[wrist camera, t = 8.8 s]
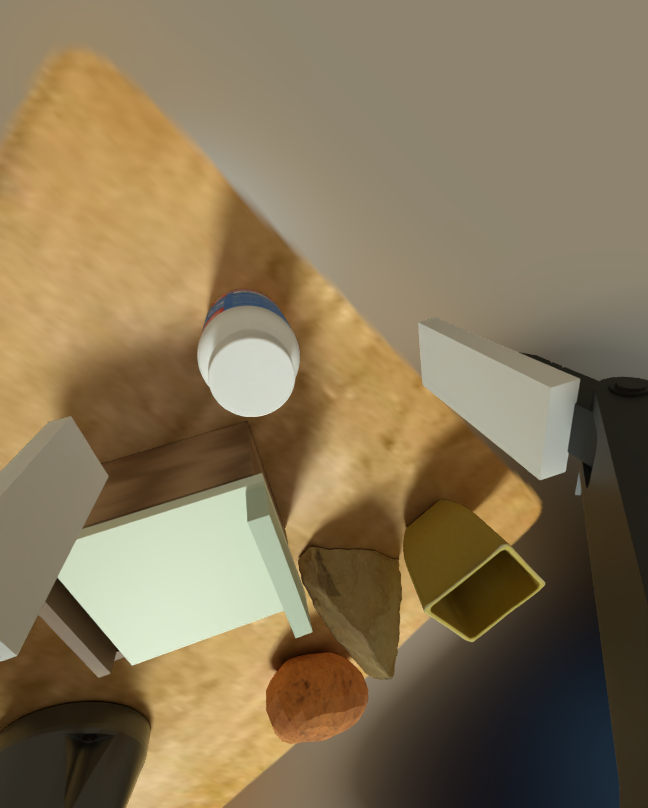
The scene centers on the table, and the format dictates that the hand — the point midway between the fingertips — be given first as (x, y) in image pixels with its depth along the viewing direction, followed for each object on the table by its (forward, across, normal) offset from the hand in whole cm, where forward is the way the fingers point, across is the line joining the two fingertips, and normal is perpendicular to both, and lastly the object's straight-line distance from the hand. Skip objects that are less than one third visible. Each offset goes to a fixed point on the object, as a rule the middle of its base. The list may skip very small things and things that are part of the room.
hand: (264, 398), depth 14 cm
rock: (+13, +3, -26) cm, 29 cm away
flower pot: (+13, +13, -25) cm, 31 cm away
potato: (+13, -4, -41) cm, 43 cm away
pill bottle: (+13, 0, 0) cm, 13 cm away
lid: (+5, -8, -13) cm, 16 cm away
